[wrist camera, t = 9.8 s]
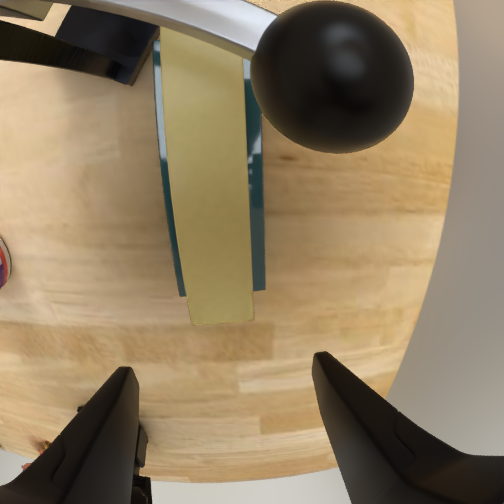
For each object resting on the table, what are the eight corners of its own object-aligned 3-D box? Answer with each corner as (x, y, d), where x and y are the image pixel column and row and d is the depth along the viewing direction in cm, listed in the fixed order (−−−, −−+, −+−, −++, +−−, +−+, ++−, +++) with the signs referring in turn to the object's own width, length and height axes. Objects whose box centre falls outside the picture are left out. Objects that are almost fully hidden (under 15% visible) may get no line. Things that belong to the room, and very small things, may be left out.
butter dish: (182, 278, 20) (179, 297, 18) (159, 48, 14) (152, 40, 12) (260, 272, 21) (265, 290, 19) (253, 41, 14) (258, 32, 12)
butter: (248, 287, 18) (254, 321, 15) (194, 292, 18) (191, 326, 15) (236, 35, 12) (241, 17, 9) (170, 41, 12) (159, 24, 9)
